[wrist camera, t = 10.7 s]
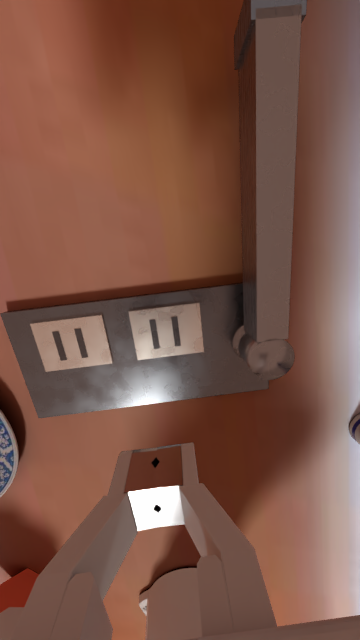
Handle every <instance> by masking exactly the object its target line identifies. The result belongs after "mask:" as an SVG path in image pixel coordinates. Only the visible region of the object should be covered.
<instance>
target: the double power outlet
mask: <svg viewBox="0 0 360 640" xmlns="http://www.w3.org/2000/svg"><path fill="white" fill-rule="evenodd" d="M1 317H2V320H3V322H4V325H5V328H6V331H7V333H8V336H9V339H10V341H11V344H12V347H13V350H14V352H15V355H16V358H17V360H18V363H19V366H20V369H21V371H22V374H23V377H24V379H25V382H26V385H27V388H28V390H29V393H30V396H31V398H32V401H33V404H34V407H35V409H36V412H37V415H38V417H39V418H45V417H53V416H60V415H68V414H76V413H84V412H92V411H99V410H107V409H115V408H123V407H131V406H138V405H146V404H154V403H162V402H170V401H177V400H185V399H193V398H201V397H209V396H216V395H224V394H232V393H240V392H248V391H255V390H263V389H269V380H266V379H262V378H259V377H258V376H256V375H255V374H254V373H253V372H252V370H251V369H250V368H249V366H248V365H247V364H246V362H245V361H244V360H243V358H242V357H241V355H240V353H239V350H238V345H239V341H240V339H241V337H242V336H243V335H244V334H245V333H246V332H245V331H244V306H243V283H236V284H228V285H220V286H212V287H203V288H195V289H187V290H179V291H171V292H163V293H154V294H146V295H138V296H130V297H122V298H114V299H106V300H97V301H89V302H81V303H73V304H65V305H57V306H49V307H40V308H32V309H24V310H16V311H8V312H4V313H1Z"/></svg>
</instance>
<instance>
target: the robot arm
mask: <svg viewBox="0 0 360 640" xmlns="http://www.w3.org/2000/svg"><path fill="white" fill-rule="evenodd" d="M183 524H185V527H186V529H187V531H188V533H189V534H190V536H191V538H192V540H193V542H194V544H195V546H196V548H197V550H198V552H199V554H200V556H201V557H200V559H199V561H198V563H197V568H184V569H179V570H175V571H172V572H169V573H167V574H165V575H163V576H162V577H160V578H159V579H158V580H157V581H156V582H155V583H154V584H153V585H152V587H151V588H150V589H149V590H147V591H145V592H143V593H142V594H141V595H140V596H139V606H140V608H141V609H142V611H143V612H144V614H145V615H146V638H145V640H360V615H357V616H349V617H342V618H335V619H328V620H321V621H314V622H306V623H299V624H292V625H285V626H278V627H277V624H276V621H275V617H274V614H273V610H272V607H271V604H270V600H269V597H268V593H267V590H266V586H265V583H264V580H263V576H262V573H261V569H260V566H259V563H258V559H257V556H256V552H255V549H254V547H253V546H252V545H251V544H250V542H249V541H248V540H247V538H246V537H245V536H244V535H243V533H242V532H241V531H240V530H239V528H238V527H237V526H236V525H235V523H234V522H233V521H232V519H231V518H230V517H229V516H228V514H227V513H226V512H225V511H224V509H223V508H222V507H221V505H220V504H219V503H218V502H217V500H216V499H215V498H214V497H213V495H212V494H211V493H210V492H209V490H208V489H207V488H206V486H205V485H204V484H203V483H200V484H199V480H198V472H197V464H196V457H195V449H194V443H193V442H192V443H185V444H177V445H170V446H163V447H157V448H149V449H139V450H131V451H122V452H121V453H120V454H119V456H118V460H117V464H116V467H115V471H114V474H113V478H112V482H111V485H110V489H109V492H108V496H103V498H102V499H101V500H100V501H99V502H98V504H97V505H96V506H95V507H94V509H93V510H92V511H91V512H90V513H89V515H88V516H87V517H86V518H85V519H84V521H83V522H82V523H81V524H80V526H79V527H78V528H77V529H76V530H75V532H74V533H73V534H72V535H71V537H70V538H69V539H68V540H67V541H66V543H65V544H64V545H63V546H62V548H61V549H60V550H59V551H58V552H57V554H56V555H55V556H54V557H53V558H52V560H51V561H50V562H49V563H48V565H47V566H46V567H45V568H44V569H43V571H42V572H41V573H40V574H39V576H38V577H37V579H36V581H35V584H34V586H33V588H32V591H31V593H30V595H29V598H28V600H27V602H26V604H25V607H24V609H23V611H22V614H21V616H20V618H19V621H18V623H17V625H16V628H15V630H14V632H13V635H12V637H11V639H10V640H111V638H112V631H113V628H112V626H111V623H110V620H109V617H108V615H107V612H106V609H105V606H104V604H103V599H104V597H105V595H106V593H107V591H108V589H109V587H110V585H111V583H112V582H113V580H114V578H115V576H116V574H117V572H118V570H119V568H120V566H121V564H122V562H123V560H124V558H125V556H126V554H127V552H128V550H129V548H130V546H131V544H132V542H133V540H134V538H135V537H136V535H137V531H139V530H144V529H150V528H156V527H163V526H173V525H183Z"/></svg>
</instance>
